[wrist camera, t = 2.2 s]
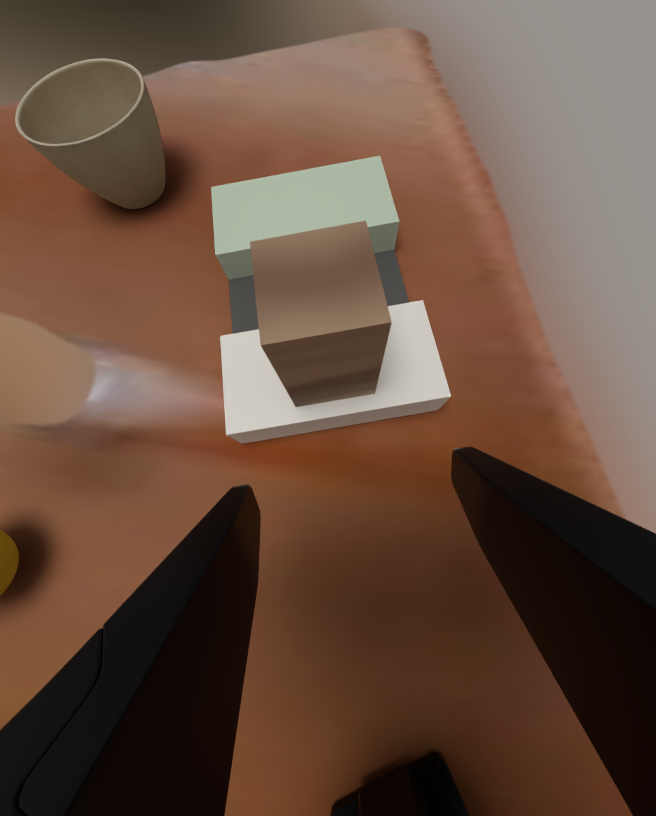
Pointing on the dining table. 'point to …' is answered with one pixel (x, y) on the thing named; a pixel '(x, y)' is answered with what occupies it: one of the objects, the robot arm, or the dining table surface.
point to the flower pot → (98, 130)
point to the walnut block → (321, 312)
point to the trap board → (241, 351)
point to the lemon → (7, 560)
